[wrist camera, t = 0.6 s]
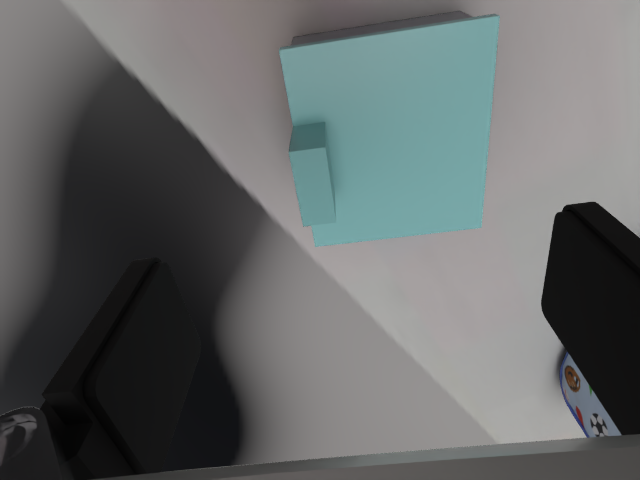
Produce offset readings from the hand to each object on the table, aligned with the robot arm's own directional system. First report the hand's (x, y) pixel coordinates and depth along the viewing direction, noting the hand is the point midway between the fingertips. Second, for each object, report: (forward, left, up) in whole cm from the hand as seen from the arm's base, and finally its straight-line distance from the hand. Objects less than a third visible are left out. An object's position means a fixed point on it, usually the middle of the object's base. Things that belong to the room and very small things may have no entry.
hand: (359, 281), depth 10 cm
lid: (+7, +4, -26) cm, 27 cm away
